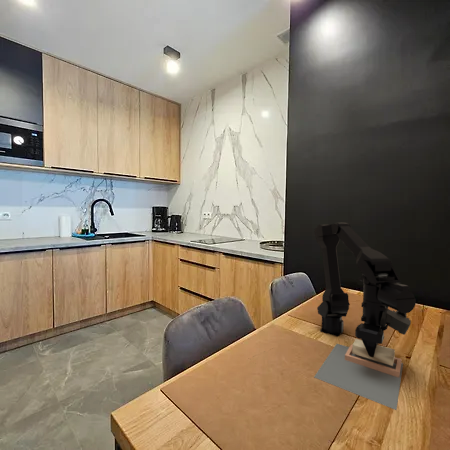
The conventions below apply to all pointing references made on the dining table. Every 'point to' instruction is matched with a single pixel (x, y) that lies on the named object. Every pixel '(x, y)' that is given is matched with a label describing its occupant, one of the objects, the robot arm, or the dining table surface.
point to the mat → (360, 377)
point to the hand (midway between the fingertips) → (372, 352)
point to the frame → (374, 364)
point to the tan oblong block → (380, 355)
